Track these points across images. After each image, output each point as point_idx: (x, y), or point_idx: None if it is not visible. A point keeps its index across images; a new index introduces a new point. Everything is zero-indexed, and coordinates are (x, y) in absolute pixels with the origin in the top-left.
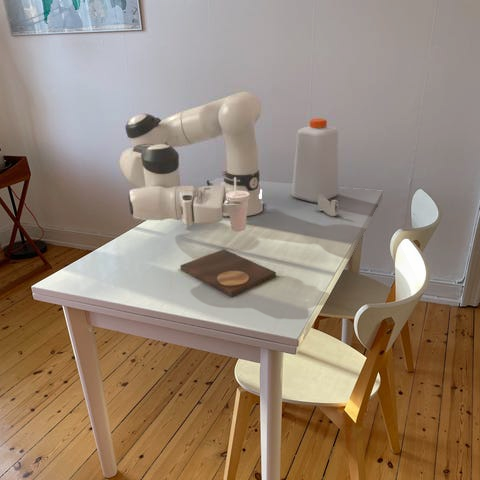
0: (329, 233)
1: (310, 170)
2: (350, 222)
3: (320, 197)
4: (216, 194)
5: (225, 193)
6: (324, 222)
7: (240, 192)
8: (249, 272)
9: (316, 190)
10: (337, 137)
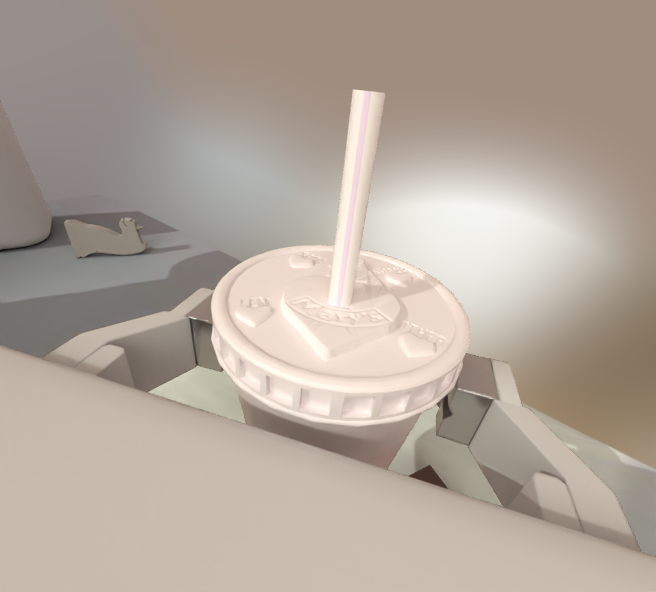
0: (210, 285)
1: None
2: (188, 250)
3: (75, 225)
4: (144, 522)
5: (98, 373)
6: (148, 271)
7: (292, 271)
8: None
9: (22, 216)
10: None
